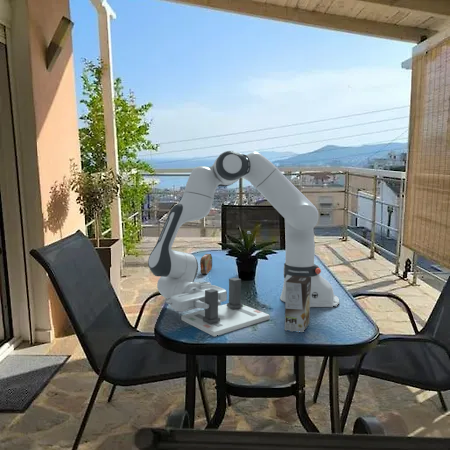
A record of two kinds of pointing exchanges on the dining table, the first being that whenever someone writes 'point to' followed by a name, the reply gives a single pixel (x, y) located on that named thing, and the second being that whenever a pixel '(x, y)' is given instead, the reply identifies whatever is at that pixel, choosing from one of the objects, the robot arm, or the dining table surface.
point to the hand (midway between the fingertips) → (213, 305)
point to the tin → (206, 263)
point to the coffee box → (297, 303)
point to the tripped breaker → (211, 306)
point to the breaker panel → (226, 319)
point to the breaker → (234, 293)
